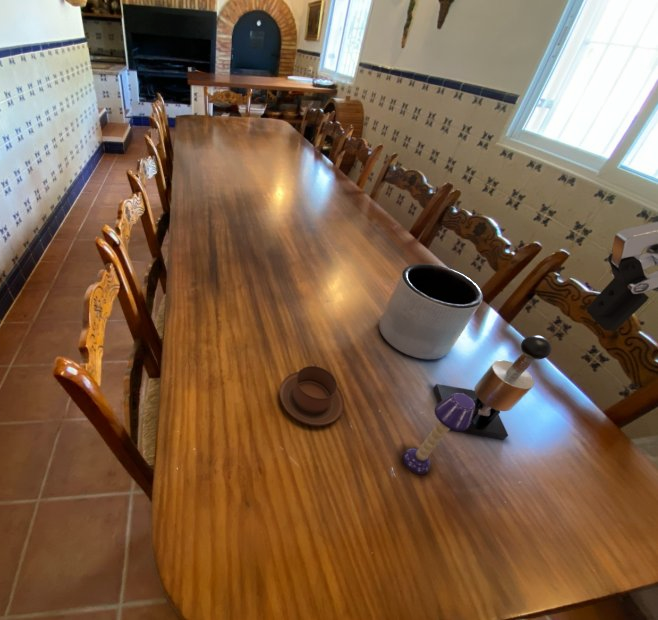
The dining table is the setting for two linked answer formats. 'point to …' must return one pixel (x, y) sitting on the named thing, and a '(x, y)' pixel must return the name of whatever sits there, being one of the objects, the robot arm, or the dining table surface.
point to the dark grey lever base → (479, 424)
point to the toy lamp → (441, 430)
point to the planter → (429, 310)
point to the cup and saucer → (312, 396)
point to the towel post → (510, 377)
